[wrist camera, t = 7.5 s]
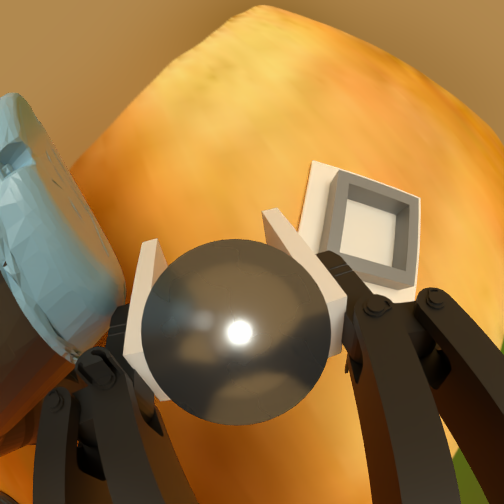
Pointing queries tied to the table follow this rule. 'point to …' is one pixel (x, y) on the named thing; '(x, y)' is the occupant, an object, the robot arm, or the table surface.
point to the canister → (6, 499)
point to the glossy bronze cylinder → (236, 332)
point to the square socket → (364, 228)
